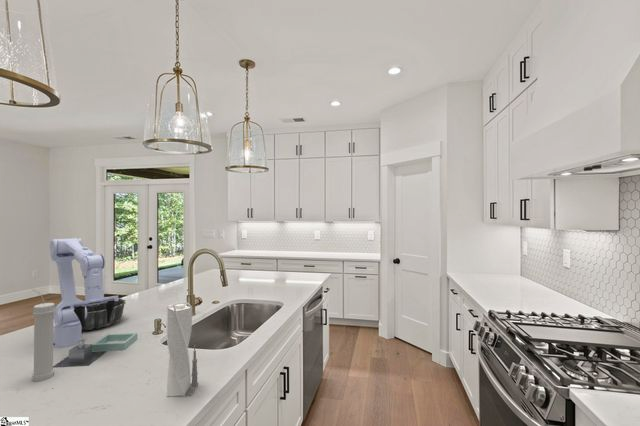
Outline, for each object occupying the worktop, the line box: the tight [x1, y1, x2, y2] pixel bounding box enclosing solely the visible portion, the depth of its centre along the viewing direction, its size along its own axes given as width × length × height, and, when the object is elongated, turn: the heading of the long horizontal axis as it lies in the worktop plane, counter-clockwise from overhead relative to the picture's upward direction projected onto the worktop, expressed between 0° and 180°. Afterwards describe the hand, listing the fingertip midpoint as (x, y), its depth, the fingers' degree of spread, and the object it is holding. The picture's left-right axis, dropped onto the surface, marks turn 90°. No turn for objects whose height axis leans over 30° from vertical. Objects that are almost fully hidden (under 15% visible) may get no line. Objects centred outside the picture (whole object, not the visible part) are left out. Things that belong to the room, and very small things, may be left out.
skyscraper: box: [165, 301, 199, 398], centre depth 96 cm, size 8×8×28 cm
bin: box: [91, 332, 138, 352], centre depth 128 cm, size 12×11×4 cm
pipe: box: [31, 288, 56, 382], centre depth 102 cm, size 6×6×30 cm
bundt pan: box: [63, 297, 126, 331], centre depth 155 cm, size 26×26×10 cm
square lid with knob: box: [53, 351, 108, 369], centre depth 115 cm, size 12×12×4 cm
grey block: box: [68, 340, 93, 362], centre depth 115 cm, size 5×5×6 cm
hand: (96, 324), depth 117 cm, fingers open, 7 cm apart
